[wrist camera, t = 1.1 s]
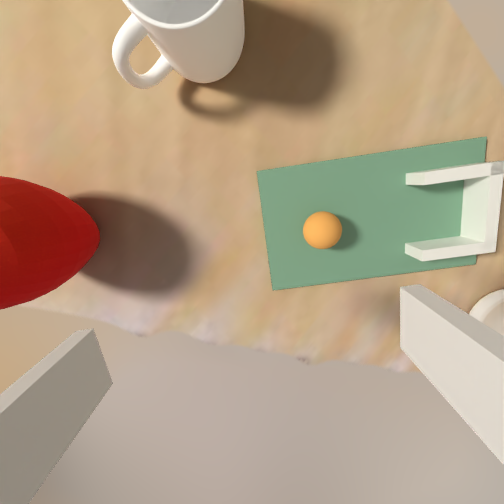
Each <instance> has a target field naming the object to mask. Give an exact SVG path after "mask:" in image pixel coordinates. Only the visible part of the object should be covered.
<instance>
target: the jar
mask: <svg viewBox="0 0 504 504" xmlns="http://www.w3.org/2000/svg"><path fill="white" fill-rule="evenodd" d="M469 315H471V316H472V317H474V318H476V319H477V320H479V321H480V322H482V323H484V324H485V325H487V326H488V327H490V328H492V329H493V330H495V331H496V332H498V333H500V334H501V335H503V336H504V289H502V290H497V291H495V292H492V293H490V294H488V295H486V296H484V297H483V298H482V299H480V300H479V301H478V302H477V303H476V304H475V305H474V306H473V308H472V309H471V311H470V313H469Z"/></svg>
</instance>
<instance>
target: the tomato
mask: <svg viewBox="0 0 504 504" xmlns="http://www.w3.org/2000/svg"><path fill="white" fill-rule="evenodd" d="M99 242H100V232H99V230H98V227H97V225H96V223H95V222H94V220H93V219H92V218H91V216H90V215H89V214H88V213H87V212H86V211H85V210H84V209H83V208H82V207H81V206H79V205H78V204H76V203H75V202H73V201H72V200H70V199H69V198H67V197H65V196H64V195H62V194H60V193H58V192H56V191H54V190H51V189H49V188H46V187H43V186H40V185H37V184H34V183H31V182H28V181H25V180H20V179H15V178H10V177H3V176H0V309H5V308H8V307H11V306H15V305H18V304H22V303H25V302H29V301H32V300H34V299H36V298H38V297H40V296H42V295H45V294H47V293H49V292H50V291H52V290H54V289H56V288H57V287H59V286H60V285H62V284H63V283H65V282H66V281H67V280H69V279H70V278H71V277H73V276H74V275H75V274H76V273H77V272H78V271H79V270H80V269H81V268H82V267H83V266H84V265H85V264H86V263H87V262H88V261H89V259H90V258H91V257H92V256H93V254H94V253H95V251H96V249H97V248H98V245H99Z"/></svg>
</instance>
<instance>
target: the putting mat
mask: <svg viewBox="0 0 504 504" xmlns="http://www.w3.org/2000/svg"><path fill="white" fill-rule="evenodd" d="M486 140H487V137H480V138H473V139H467V140H460V141H454V142H447V143H440V144H434V145H427V146H421V147H414V148H407V149H401V150H394V151H388V152H381V153H374V154H368V155H361V156H354V157H348V158H341V159H335V160H328V161H321V162H315V163H308V164H302V165H295V166H288V167H282V168H275V169H268V170H262V171H257V176H258V184H259V191H260V199H261V206H262V214H263V222H264V229H265V237H266V244H267V252H268V259H269V267H270V274H271V282H272V289H273V290H280V289H288V288H295V287H303V286H311V285H318V284H326V283H334V282H342V281H349V280H357V279H365V278H373V277H380V276H388V275H396V274H403V273H411V272H419V271H427V270H434V269H442V268H450V267H458V266H465V265H473V264H476V255H477V254H476V255H468V256H460V257H453V258H445V259H437V260H430V261H420V260H418V259H416V258H414V257H412V256H410V255H407V254H405V243H411V242H419V241H426V240H434V239H441V238H449V237H456V236H460V233H461V218H462V204H463V189H464V180H457V181H450V182H443V183H436V184H429V185H406V173H412V172H418V171H425V170H432V169H439V168H446V167H452V166H459V165H466V164H473V163H482V162H485V151H486ZM320 211H325V212H330V213H332V214H334V215H335V216H336V217H337V218H338V219H339V221H340V223H341V225H342V234H341V237H340V239H339V241H338V242H337V243H336V244H335V245H334V246H332V247H330V248H327V249H317V248H314V247H312V246H311V245H309V244H308V243H307V241H306V240H305V238H304V235H303V226H304V223H305V221H306V220H307V218H308V217H309V216H311V215H312V214H314V213H316V212H320Z"/></svg>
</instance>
